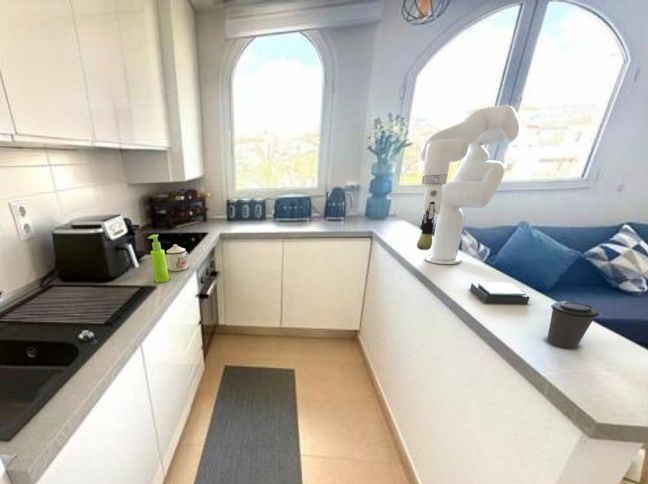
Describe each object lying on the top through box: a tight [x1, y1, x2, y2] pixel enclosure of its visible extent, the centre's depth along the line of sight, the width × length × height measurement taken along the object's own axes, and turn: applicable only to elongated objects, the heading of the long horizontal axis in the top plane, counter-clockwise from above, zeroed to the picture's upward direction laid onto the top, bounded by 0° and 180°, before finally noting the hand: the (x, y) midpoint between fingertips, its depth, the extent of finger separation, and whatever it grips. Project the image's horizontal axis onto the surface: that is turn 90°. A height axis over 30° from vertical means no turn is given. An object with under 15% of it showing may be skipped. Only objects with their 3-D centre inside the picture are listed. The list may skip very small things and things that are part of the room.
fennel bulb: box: [416, 217, 435, 251], centre depth 128 cm, size 6×5×12 cm
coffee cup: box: [546, 301, 600, 350], centre depth 80 cm, size 8×8×10 cm
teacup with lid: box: [165, 243, 189, 272], centre depth 163 cm, size 12×9×12 cm
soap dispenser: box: [147, 234, 170, 284], centre depth 146 cm, size 6×7×20 cm
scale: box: [469, 281, 530, 306], centre depth 108 cm, size 12×11×3 cm
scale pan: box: [477, 282, 527, 295], centre depth 107 cm, size 10×9×1 cm
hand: (426, 231), depth 127 cm, fingers closed on fennel bulb, 5 cm apart
